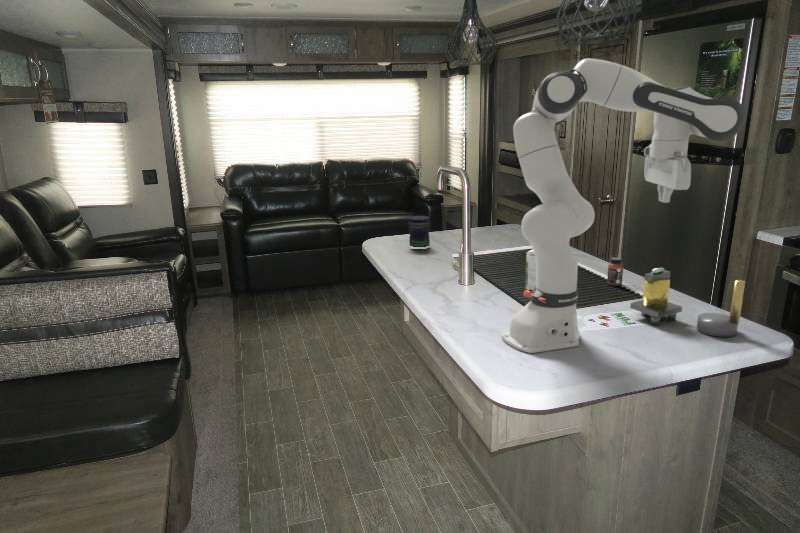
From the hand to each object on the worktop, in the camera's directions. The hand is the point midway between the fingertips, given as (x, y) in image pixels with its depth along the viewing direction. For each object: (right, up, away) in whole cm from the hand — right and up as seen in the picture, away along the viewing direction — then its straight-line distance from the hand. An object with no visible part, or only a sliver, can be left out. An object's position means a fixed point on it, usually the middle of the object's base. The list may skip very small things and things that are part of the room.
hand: (664, 201), depth 149 cm
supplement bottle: (+6, -24, +50) cm, 56 cm away
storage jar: (-63, -9, +113) cm, 130 cm away
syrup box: (-24, -26, +47) cm, 59 cm away
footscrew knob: (+18, -36, +6) cm, 41 cm away
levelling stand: (+5, -34, +16) cm, 38 cm away
